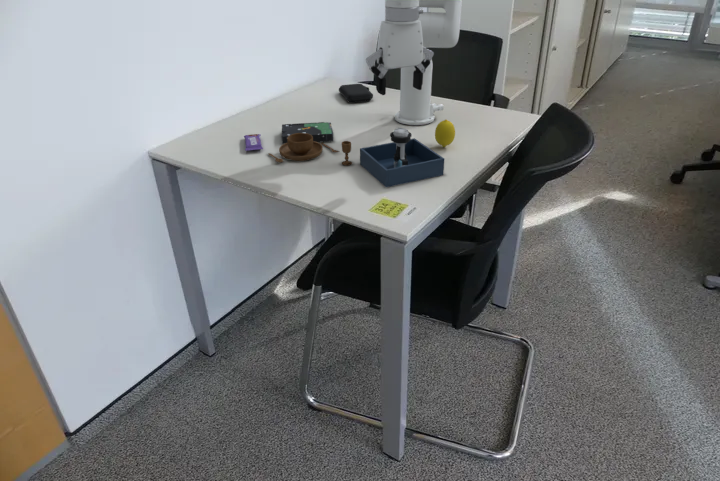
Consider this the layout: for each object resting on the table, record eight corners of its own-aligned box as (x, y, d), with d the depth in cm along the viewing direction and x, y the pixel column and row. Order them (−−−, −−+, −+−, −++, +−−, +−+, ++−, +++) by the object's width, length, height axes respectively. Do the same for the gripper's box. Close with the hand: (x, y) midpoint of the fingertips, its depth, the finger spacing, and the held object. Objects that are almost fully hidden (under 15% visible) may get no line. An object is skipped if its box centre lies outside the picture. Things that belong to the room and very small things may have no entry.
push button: (415, 172, 137) (417, 134, 132) (395, 175, 136) (396, 137, 131) (405, 162, 143) (407, 125, 137) (386, 164, 141) (387, 128, 136)
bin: (413, 153, 148) (414, 138, 146) (443, 175, 136) (444, 158, 134) (360, 164, 143) (359, 148, 140) (386, 187, 131) (386, 170, 128)
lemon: (442, 141, 155) (444, 114, 151) (457, 147, 152) (460, 119, 148) (430, 147, 152) (431, 119, 148) (445, 152, 149) (447, 124, 144)
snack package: (262, 145, 149) (244, 147, 149) (263, 152, 150) (245, 154, 150) (260, 131, 159) (243, 132, 158) (261, 137, 160) (244, 138, 159)
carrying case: (377, 101, 187) (365, 89, 199) (377, 93, 185) (365, 81, 198) (347, 104, 185) (337, 92, 197) (347, 95, 183) (337, 84, 195)
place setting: (319, 140, 157) (318, 120, 154) (356, 163, 143) (355, 142, 140) (263, 153, 149) (261, 133, 146) (296, 180, 135) (294, 158, 132)
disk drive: (282, 145, 154) (334, 142, 156) (281, 136, 153) (333, 132, 154) (282, 133, 163) (331, 129, 165) (281, 124, 162) (330, 120, 163)
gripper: (426, 9, 127) (423, 83, 136) (359, 15, 121) (360, 91, 130) (443, 14, 121) (438, 90, 130) (373, 20, 115) (373, 100, 124)
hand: (399, 91), depth 130 cm, fingers open, 9 cm apart
